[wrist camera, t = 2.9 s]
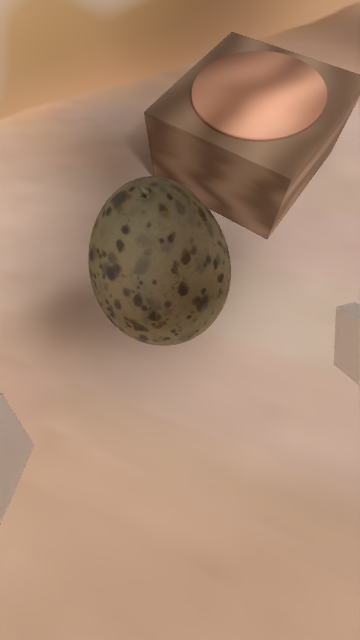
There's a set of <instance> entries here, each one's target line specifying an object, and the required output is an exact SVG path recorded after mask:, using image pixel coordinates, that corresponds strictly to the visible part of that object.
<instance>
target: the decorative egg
mask: <svg viewBox="0 0 360 640" xmlns="http://www.w3.org/2000/svg"><path fill="white" fill-rule="evenodd" d="M89 272H90V278H91V283H92V287H93V290H94V293H95V295H96V298H97V300H98V302H99V304H100V306H101V308H102V309H103V311H104V313H105V314H106V315H107V317H108V318H109V319H110V320H111V322H112V323H113V324H114V325H115V326H116V327H118V328H119V329H120V330H121V331H122V332H124V333H125V334H127V335H128V336H130V337H132V338H134V339H136V340H138V341H141V342H144V343H148V344H153V345H175V344H179V343H183V342H186V341H188V340H191V339H193V338H195V337H196V336H198V335H199V334H201V333H202V332H204V331H205V330H206V329H207V328H208V327H209V326H210V325H211V324H212V323H213V322H214V321H215V319H216V318H217V316H218V315H219V313H220V312H221V310H222V308H223V306H224V304H225V301H226V298H227V295H228V291H229V286H230V278H231V265H230V257H229V251H228V247H227V244H226V241H225V238H224V235H223V233H222V230H221V228H220V227H219V225H218V223H217V221H216V219H215V218H214V216H213V215H212V213H211V212H210V210H209V209H208V208H207V206H206V205H205V204H204V203H203V202H202V201H201V200H200V199H199V198H198V197H197V196H196V195H195V194H194V193H193V192H191V191H190V190H189V189H187V188H186V187H184V186H182V185H181V184H179V183H177V182H175V181H172V180H169V179H167V178H162V177H150V176H149V177H142V178H138V179H135V180H133V181H130V182H128V183H127V184H125V185H123V186H122V187H121V188H119V189H118V190H117V191H116V192H115V193H114V194H113V195H112V196H111V197H110V198H109V199H108V200H107V202H106V203H105V205H104V206H103V208H102V209H101V211H100V213H99V215H98V217H97V219H96V222H95V225H94V227H93V231H92V234H91V239H90V245H89Z"/></svg>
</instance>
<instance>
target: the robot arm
mask: <svg viewBox="0 0 360 640" xmlns="http://www.w3.org/2000/svg"><path fill="white" fill-rule="evenodd" d="M334 365H335V366H336V367H338V368H339V369H340V370H341V371H342V372H344V373H345V374H346V375H347V376H349V377H350V378H351V379H352V380H353V381H355V382H356V383H357V384H358V385H360V305H359V304H357V303H355V302H354V303H350V304H346V305H342V306H338V307H336V325H335V352H334ZM33 446H34V444H33V442H32V441H31V439H30V438H29V436H28V434H27V433H26V431H25V429H24V428H23V426H22V424H21V423H20V421H19V420H18V418H17V416H16V415H15V413H14V411H13V410H12V408H11V406H10V405H9V403H8V401H7V400H6V398H5V397H4V395H3V393H1V394H0V523H1V521H2V519H3V516H4V514H5V512H6V509H7V507H8V505H9V502H10V500H11V498H12V495H13V493H14V491H15V488H16V486H17V484H18V481H19V479H20V477H21V474H22V472H23V470H24V467H25V465H26V463H27V460H28V458H29V456H30V453H31V451H32V449H33Z"/></svg>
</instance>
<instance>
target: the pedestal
mask: <svg viewBox="0 0 360 640" xmlns="http://www.w3.org/2000/svg"><path fill="white" fill-rule="evenodd" d="M359 96H360V75H359V74H356V73H353V72H350V71H347V70H344V69H341V68H338V67H335V66H332V65H329V64H326V63H323V62H320V61H317V60H314V59H311V58H308V57H305V56H302V55H299V54H296V53H293V52H290V51H288V50H285V49H282V48H279V47H276V46H273V45H270V44H267V43H264V42H261V41H258V40H254V39H252V38H249V37H246V36H243V35H239V34H237V33H234V32H231V33H230V34H229V35H228V36H227V37H226V38H225V39H224V40H223V41H221V42H220V43H219V44H218V45H217V46H216V47H215V48H214V49H213V50H211V52H209V54H207V55H206V56H205V57H204V58H203V59H202V60H201V61H199V62H198V63H197V64H196V65H195V66H194V67H193V68H192V69H191V70H190V71H189V72H187V73H186V74H185V75H184V76H183V77H182V78H181V79H180V80H179V81H178V82H177V83H175V84H174V85H173V86H172V87H171V88H170V89H169V90H168V91H167V92H166V93H165V94H163V95H162V96H161V97H160V98H159V99H158V100H157V101H156V102H155V103H154V104H153V105H151V106H150V107H149V108H148V109H147V110H146V111H145V112H144V114H145V120H146V127H147V133H148V139H149V146H150V152H151V158H152V165H153V171H154V177H162V178H167V179H169V180H172V181H175V182H177V183H179V184H181V185H182V186H184V187H186V188H187V189H189V190H190V191H191V192H193V193H194V194H195V195H196V196H197V197H198V198H199V199H200V200H201V201H202V202H203V203H204V204H205V205H206V206H207V208H209V209H211V210H213V211H215V212H217V213H219V214H220V215H222V216H224V217H226V218H228V219H230V220H232V221H234V222H236V223H237V224H239V225H241V226H243V227H245V228H247V229H249V230H251V231H253V232H255V233H256V234H258V235H260V236H262V237H264V238H266V239H268V237H269V236H270V235H271V233H272V232H273V231H274V229H275V228H276V227H277V225H278V224H279V222H280V221H281V220H282V218H283V217H284V216H285V214H286V213H287V212H288V210H289V209H290V207H291V206H292V205H293V203H294V202H295V201H296V199H297V198H298V196H299V195H300V194H301V192H302V191H303V190H304V188H305V187H306V186H307V184H308V183H309V181H310V180H311V179H312V177H313V176H314V175H315V173H316V172H317V171H318V169H319V168H320V166H321V165H322V164H323V162H324V161H325V160H326V158H327V157H328V155H329V154H330V153H331V151H332V149H333V147H334V145H335V143H336V141H337V139H338V137H339V135H340V133H341V131H342V130H343V128H344V126H345V124H346V122H347V120H348V118H349V116H350V114H351V112H352V110H353V108H354V106H355V104H356V102H357V100H358V98H359Z"/></svg>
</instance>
